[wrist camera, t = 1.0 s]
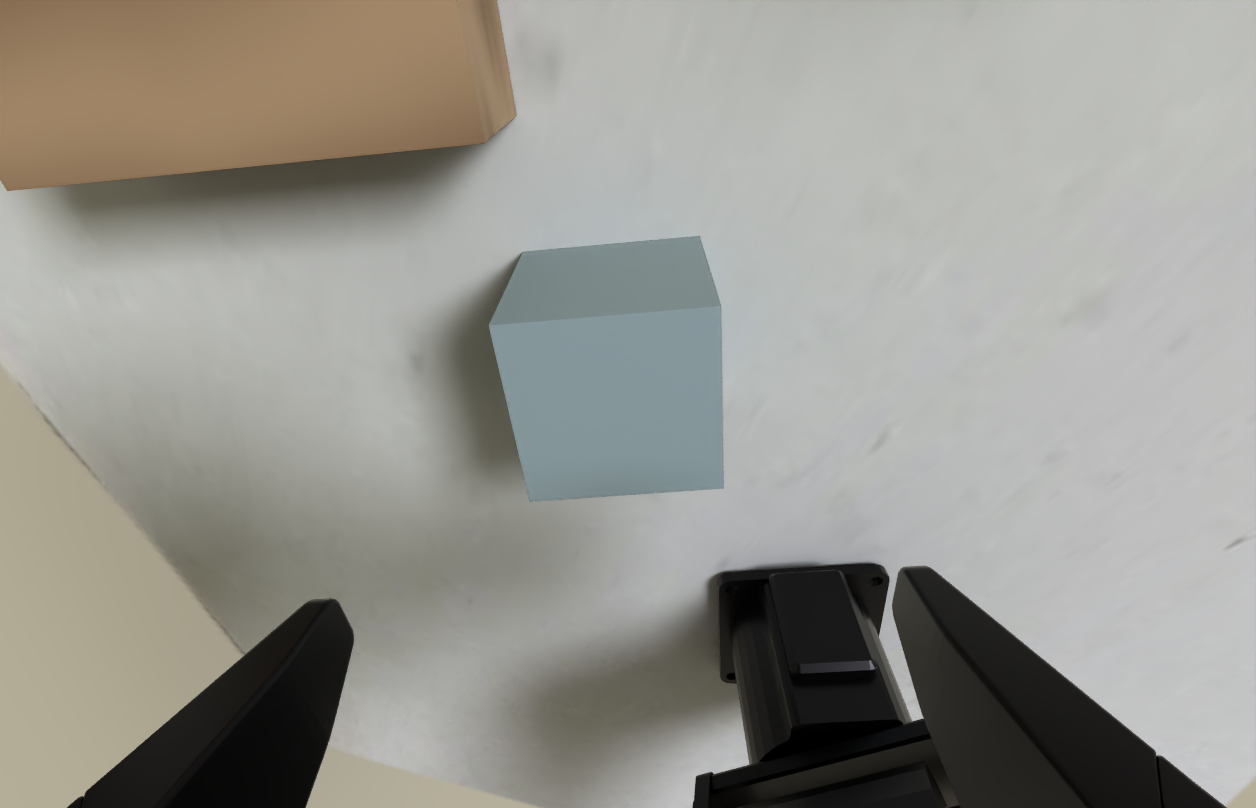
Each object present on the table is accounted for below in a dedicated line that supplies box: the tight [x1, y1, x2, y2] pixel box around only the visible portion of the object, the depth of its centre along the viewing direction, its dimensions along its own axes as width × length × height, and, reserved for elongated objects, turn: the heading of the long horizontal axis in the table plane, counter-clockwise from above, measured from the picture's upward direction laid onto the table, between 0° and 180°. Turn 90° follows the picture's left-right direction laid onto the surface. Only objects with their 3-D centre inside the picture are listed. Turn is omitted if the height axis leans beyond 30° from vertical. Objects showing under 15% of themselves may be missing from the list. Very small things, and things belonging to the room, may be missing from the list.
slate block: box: [489, 236, 724, 502], centre depth 17 cm, size 5×5×5 cm
